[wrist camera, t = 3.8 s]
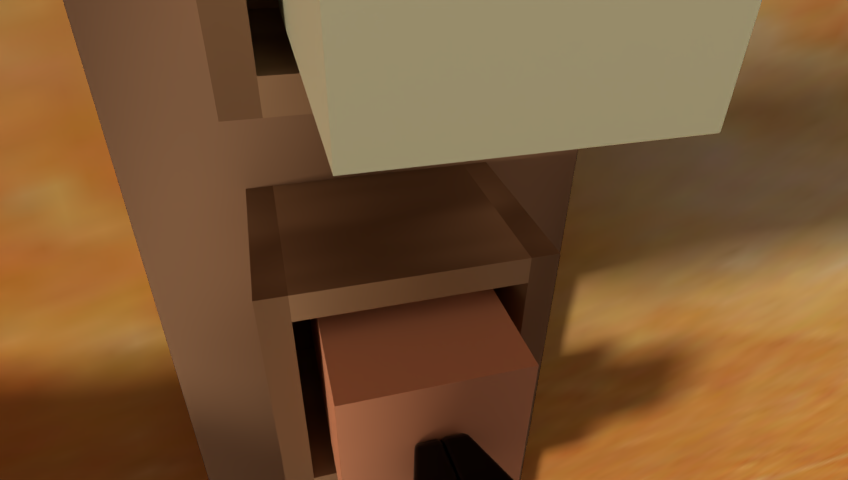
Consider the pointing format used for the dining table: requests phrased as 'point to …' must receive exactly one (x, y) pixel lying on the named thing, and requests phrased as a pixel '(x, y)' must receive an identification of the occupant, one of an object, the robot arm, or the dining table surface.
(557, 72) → the beige rectangular block
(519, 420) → the orange rectangular block
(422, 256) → the brown block rack
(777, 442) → the dining table surface
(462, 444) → the robot arm
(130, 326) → the dining table surface
